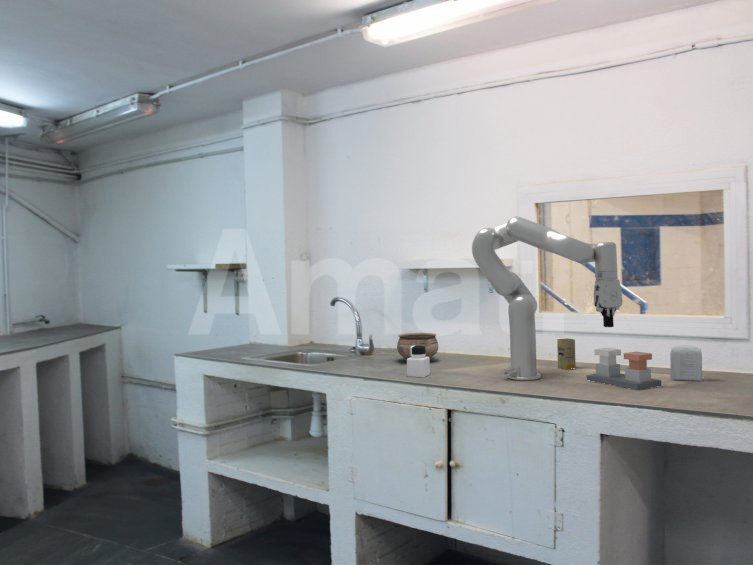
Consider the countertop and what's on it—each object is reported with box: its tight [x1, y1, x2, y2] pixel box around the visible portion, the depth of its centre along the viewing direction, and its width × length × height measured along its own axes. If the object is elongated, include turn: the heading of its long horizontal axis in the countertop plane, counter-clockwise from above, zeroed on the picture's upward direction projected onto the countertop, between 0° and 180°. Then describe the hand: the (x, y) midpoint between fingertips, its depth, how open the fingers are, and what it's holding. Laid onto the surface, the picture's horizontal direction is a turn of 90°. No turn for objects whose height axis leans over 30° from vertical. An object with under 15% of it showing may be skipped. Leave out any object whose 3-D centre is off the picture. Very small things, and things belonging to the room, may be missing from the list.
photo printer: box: [669, 345, 703, 382], centre depth 223 cm, size 10×4×12 cm, turn 72°
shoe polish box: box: [556, 337, 577, 370], centre depth 254 cm, size 5×5×12 cm
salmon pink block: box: [623, 351, 653, 370], centre depth 215 cm, size 6×6×6 cm
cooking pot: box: [396, 332, 439, 360], centre depth 285 cm, size 25×19×12 cm
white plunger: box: [593, 347, 622, 365], centre depth 227 cm, size 6×6×6 cm
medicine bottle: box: [406, 345, 431, 378], centre depth 249 cm, size 7×7×12 cm
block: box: [586, 362, 662, 391], centre depth 221 cm, size 12×22×6 cm, turn 28°
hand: (608, 326), depth 226 cm, fingers closed
